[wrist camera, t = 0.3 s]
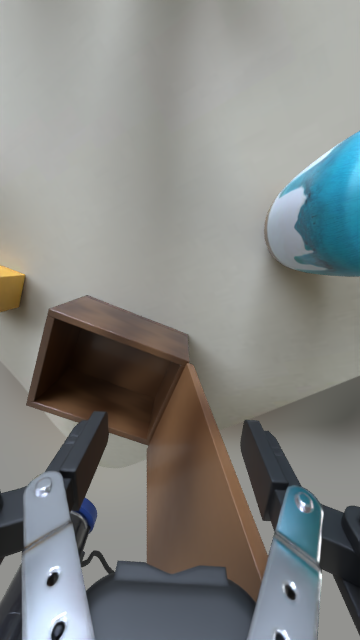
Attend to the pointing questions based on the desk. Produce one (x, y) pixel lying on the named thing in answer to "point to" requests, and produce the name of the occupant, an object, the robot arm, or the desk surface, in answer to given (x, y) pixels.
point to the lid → (198, 495)
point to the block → (10, 288)
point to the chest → (107, 367)
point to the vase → (320, 215)
